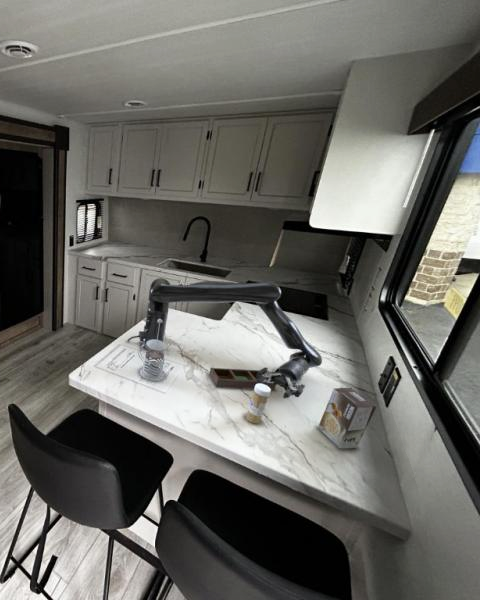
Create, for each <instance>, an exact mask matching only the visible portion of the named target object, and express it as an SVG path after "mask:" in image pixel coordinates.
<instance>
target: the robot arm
mask: <svg viewBox="0 0 480 600" xmlns="http://www.w3.org/2000/svg"><path fill="white" fill-rule="evenodd" d="M148 291H149V293H148V300H147V308H146V309H147V310H146V318H145V325H143V330H140V331H138V335H134V336H130V337H129V338H128V339H127V342H129V341H131V340H133V339H136V338H139V342H141V344H142V345H143V344H146V343H147V341H149V340H157V336H158V340H161V341H162V342H164V341H165V335H166V328H167V322H168V316H169V309H170V308H169V306H170V303H205V304H207V303H208V304H220V303H222V304H223V303H236V302H250V303H256V305H257V306H258V307H259V308H260V309H261V310H262V312H263V313H264V314H265V315H266V317H267V318H268V320H269V321H270V323H271V324H272V326H273V327H274V329H275V330H276V332H277V334H278V335H279V337H280V339H281V341H283V344H284V345H285V346H286V348H287V349H289V350H299V351H296V352H294V353H291V354H290V355H289V359H288V361H287V362H284V363H283V364H281V365H280V366H279V367H277V368H276V369H275V370H274V371H269V370H268V369H269V368H268V367H263V368H261V369H259V370H260V371H258V373H257V376H256V378H258V379H257V383H258V384H262V383H263V382H268V383H274V384H276V386H278V387H280V388H283V389H284V393H283V394H282V395H283V396H282V398H283V399H289V398H290V397H291V396H294V397H295V398H297V399H298V398H300V396H301V395H302V394H303V392H304V390H305V387H306V385H305V384H302V383H301V384H298V382H300V381H301V380H302V378H303V377H304V376H305V375H306V374H307V373H308V371H309V369H312V368H318V367H321V366H322V363H323V358H322V356H321V354H320V352H319V351H318V350H317V349H316V348H315V347H313V346H312V345H311V344H310V343H309V341H307V339H305V337H304V336H303V334H302V332H301V331H300V330H299V328H298V327H297V325H296V324H295V322H294V321H293V320H292V319H291V318H290V317H289V316H288V315H287V314H286V313H285V312H284V310H283V309H282V308H281V307H280V305H279V303H278V302H277V301H278V300H279V299H280V298H281V295H282V289H281V288H280V286H279V285H278V284H276V283H275V282H272V281H261V282H260V281H259V282H250V283H247V282H246V283H242V282H231V281H219V280H218V281H217V280H216V281H215V280H205V281H199V282H193V283H190V284H184V285H183V284H182V285H178V284H171V283H170V282H169V280H167V279H166V278H161V277H160V278H156V279H154V280H153V281H151V284H150V286H149V290H148ZM158 319H162V323H160V327H159V323H158V322H157V321H158ZM158 330H159V333H158ZM146 347H147V345H145V346H144V345H143V347H142V348H143V350H146V351H147V350H149V349H150V348H149V347H147V348H146ZM265 377H267V378H266V379H265Z"/></svg>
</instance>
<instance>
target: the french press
mask: <svg viewBox="0 0 480 600" xmlns="http://www.w3.org/2000/svg"><path fill="white" fill-rule="evenodd" d="M157 322H158V323H159V327H160V323H162V319H158V321H157ZM158 333H159V330H158ZM143 345H144V346H145V345H147V347H149V348H150V349H149V350H147V349H146V352H145V356H144V357H143V356H142V352H141V349H142V348H143ZM147 347H146V348H147ZM167 347H168V345H167V344H166V343H165V342H164V341H163V342H162V341H161V340H158V336H157V340H149V341H147V343H146V344H142V345H141V346H140V347H139V348H138V351H137V354H138V358H139V359H140V360H141V361H142V362H143V364H142V368H141V369H140V371H139V374H140V376H141V377H142V378H144V379H146V380H147V381H150V382H159V381H162V380H163V379H164V378H165V374H164V372H163V369H164V365H165V364H164V363H165V353H164V352H163V351H166V349H167Z"/></svg>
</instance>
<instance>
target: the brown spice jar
mask: <svg viewBox="0 0 480 600" xmlns="http://www.w3.org/2000/svg"><path fill="white" fill-rule="evenodd" d="M271 392H272V390H271V389H270V388H269V387H268V386H267V385H264V384H256V385H255V388H254V389H253V394H252V397H251V398H250V399H251V400H250V402H249V406H248V409H247V413H246V415H245V418H246V420H247V421H248V422H250V423H251V424H260V423H261V421H262V417H263V415H264V411H265V409H266V406H267V404H268V399H269V396H270V395H271Z"/></svg>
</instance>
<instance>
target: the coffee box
mask: <svg viewBox="0 0 480 600" xmlns="http://www.w3.org/2000/svg"><path fill="white" fill-rule="evenodd" d="M376 409H377V405H376V404H374V403H373V402H371V401H370V400H368V399H367V398H366V397H364V396H363V395H361V393H359V392H357V390H355V389H354V388H352V387H337V388H336V387H334V388H333V389H332V391H331V394H330V397H329V400H328V402H327V404H326V407H325V409H324V411H323V413H322V416H321V419H320V421H319V424H318V427H317V428H318V429H319V430H320V431H321V432H322V433H323V434H324V435H325V436H326V437H327V438H329V440H330V441H331V442H332V443H333V444H334V445H336V447H337V448H339V449H357V448H358V447H359V444H360V442H361V440H362V438H363V436H364V434H365V432H366V429H368V428H367V427H368V425H369V423H370V421H371V419H372V417H373V416H374V414H375V411H376Z"/></svg>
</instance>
